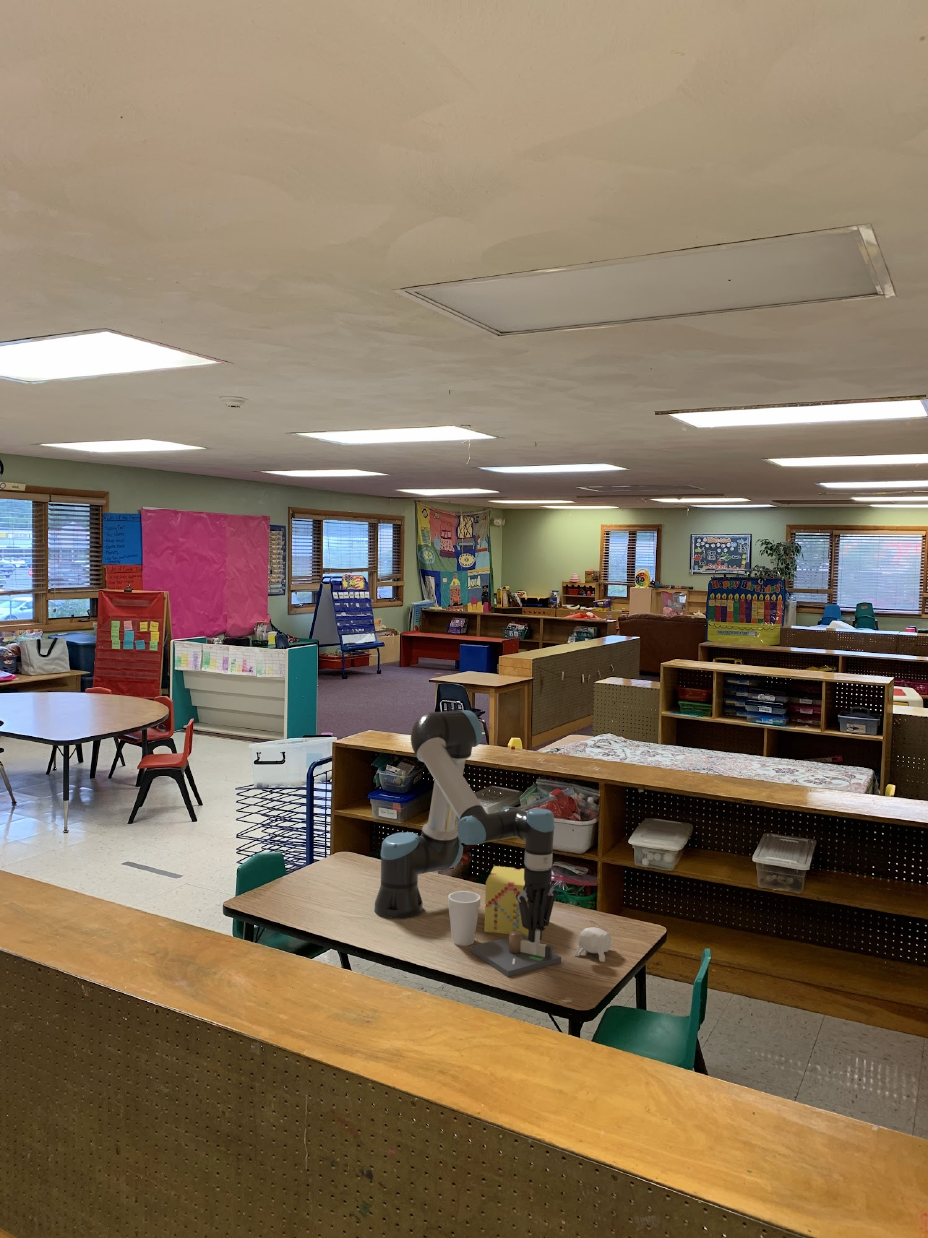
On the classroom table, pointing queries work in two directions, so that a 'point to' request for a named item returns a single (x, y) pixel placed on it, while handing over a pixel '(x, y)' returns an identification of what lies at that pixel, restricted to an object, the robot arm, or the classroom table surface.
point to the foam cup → (463, 916)
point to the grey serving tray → (511, 957)
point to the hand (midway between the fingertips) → (534, 952)
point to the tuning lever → (526, 945)
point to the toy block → (504, 900)
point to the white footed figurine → (594, 942)
